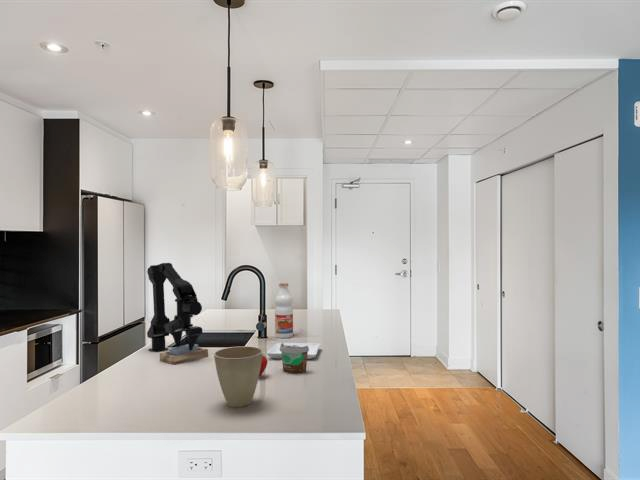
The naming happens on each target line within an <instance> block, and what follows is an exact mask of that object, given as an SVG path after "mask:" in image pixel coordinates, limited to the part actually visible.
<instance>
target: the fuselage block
mask: <svg viewBox="0 0 640 480" xmlns="http://www.w3.org/2000/svg"><path fill="white" fill-rule="evenodd" d="M198 347H199V344H197V343H195V345H194V347H193V349H192V350H191V351H190V350H189V344H188V343H187V344H184V345H180V346H179V347H176V346H175V347H172V348H168V350H169V351H168V352H169V354H170V355H174V356H177V355H181V354H185V353H190V352H194V351H198Z"/></svg>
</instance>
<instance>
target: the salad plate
mask: <svg viewBox="0 0 640 480" xmlns="http://www.w3.org/2000/svg"><path fill="white" fill-rule="evenodd" d="M282 343H283V345H286V346H299V347H304V346H308V347H309V351H308V353H307V360H310V359H314V358H315V357H316V356H317V353H318V351H319V348H320V347H321V345H322V344H321V343H312V342H311V343H309V342H276V343H274V345H273V346H272V347H271V348H269V350H268V351H267V352H266V355H267V356H268V357H271V358H273V359H277V360H282V353H281V351H280V346H281V344H282Z"/></svg>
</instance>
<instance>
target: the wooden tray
mask: <svg viewBox="0 0 640 480" xmlns="http://www.w3.org/2000/svg"><path fill="white" fill-rule="evenodd" d="M208 357H209V349H208V348H204V347H200V346H198V351H194V352H190V353H185V354H181V355H177V356H174V355H170V354H169V351H165V352H161V353H159V362H162V363H166V364H169V365H173V366H175V365H179V364H182V363H183V364H184V363H187V362H192V361H196V360H199V359H204V358H208Z"/></svg>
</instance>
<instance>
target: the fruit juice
mask: <svg viewBox="0 0 640 480" xmlns="http://www.w3.org/2000/svg"><path fill="white" fill-rule="evenodd" d="M278 287H279V288H278V292H277V295H276V296H275V299H274V303H275V309H274V323H275V325H274V331H275V332H274V334H275V338H277V339H291V338H293V336H294V309H293V307H292V304H293V297H292V295H291V293H290V290H289V283H288V282H287V283H286V282H284V283H283V282H282V283H278Z"/></svg>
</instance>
